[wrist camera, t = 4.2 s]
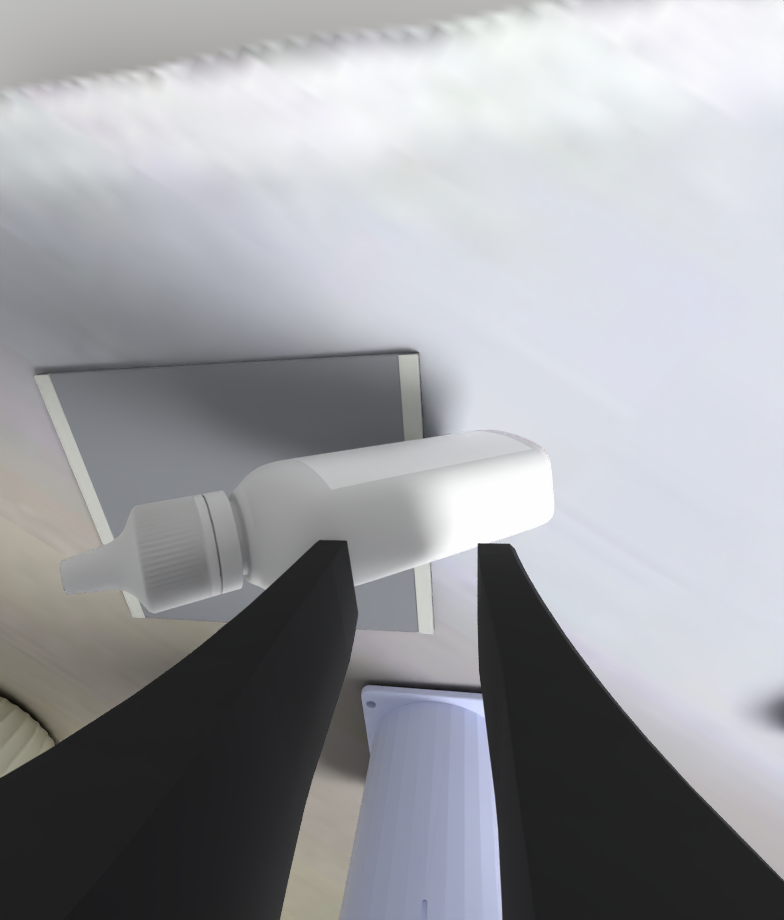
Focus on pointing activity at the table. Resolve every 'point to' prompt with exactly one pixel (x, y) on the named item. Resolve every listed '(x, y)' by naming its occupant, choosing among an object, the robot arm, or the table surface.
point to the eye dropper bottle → (326, 517)
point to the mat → (235, 447)
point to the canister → (19, 737)
